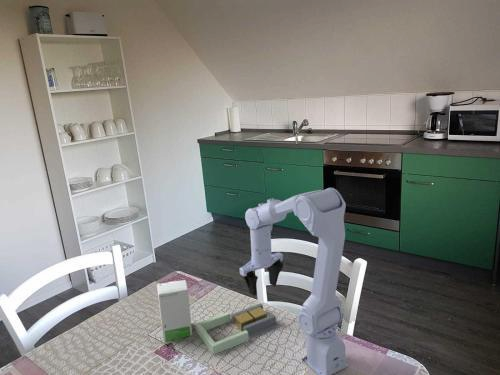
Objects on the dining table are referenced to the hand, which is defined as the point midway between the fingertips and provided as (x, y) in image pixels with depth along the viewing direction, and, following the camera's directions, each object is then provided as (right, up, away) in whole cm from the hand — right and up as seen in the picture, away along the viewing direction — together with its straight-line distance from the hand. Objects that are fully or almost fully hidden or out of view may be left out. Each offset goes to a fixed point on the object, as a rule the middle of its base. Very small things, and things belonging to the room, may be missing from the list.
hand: (263, 289), depth 117 cm
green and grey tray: (-7, -11, -4) cm, 14 cm away
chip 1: (-5, -10, -3) cm, 12 cm away
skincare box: (-24, -13, -3) cm, 28 cm away
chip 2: (-1, -9, -1) cm, 9 cm away
